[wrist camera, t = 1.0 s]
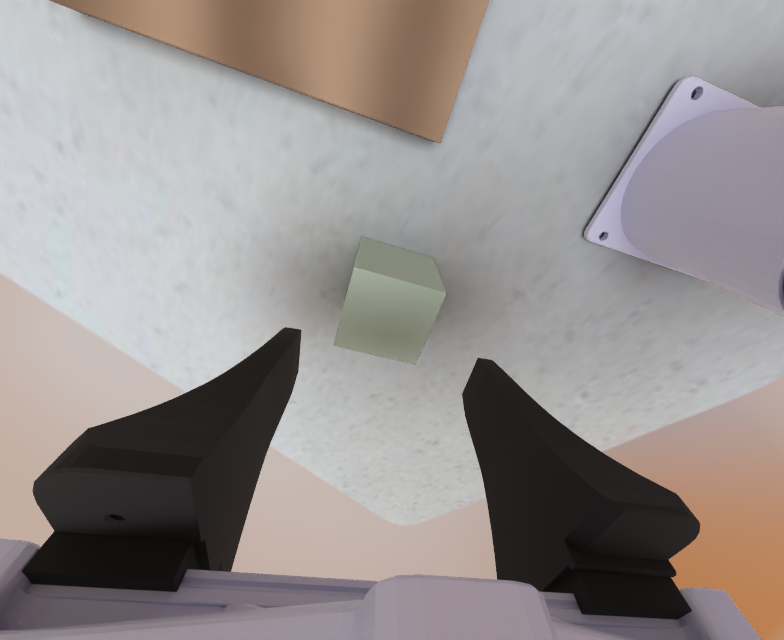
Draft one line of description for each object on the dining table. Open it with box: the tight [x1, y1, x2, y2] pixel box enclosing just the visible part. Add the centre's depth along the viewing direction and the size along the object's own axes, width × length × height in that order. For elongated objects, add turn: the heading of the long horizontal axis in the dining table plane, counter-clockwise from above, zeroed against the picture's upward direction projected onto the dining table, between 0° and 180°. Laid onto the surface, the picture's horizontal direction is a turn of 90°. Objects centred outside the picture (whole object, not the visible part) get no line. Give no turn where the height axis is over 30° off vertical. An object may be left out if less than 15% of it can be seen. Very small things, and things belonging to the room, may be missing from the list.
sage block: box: [334, 236, 447, 365], centre depth 18 cm, size 4×4×5 cm
